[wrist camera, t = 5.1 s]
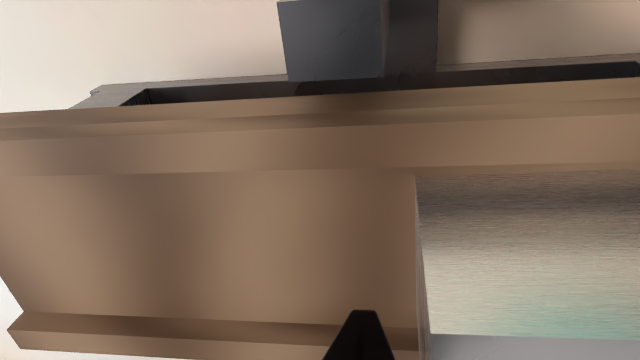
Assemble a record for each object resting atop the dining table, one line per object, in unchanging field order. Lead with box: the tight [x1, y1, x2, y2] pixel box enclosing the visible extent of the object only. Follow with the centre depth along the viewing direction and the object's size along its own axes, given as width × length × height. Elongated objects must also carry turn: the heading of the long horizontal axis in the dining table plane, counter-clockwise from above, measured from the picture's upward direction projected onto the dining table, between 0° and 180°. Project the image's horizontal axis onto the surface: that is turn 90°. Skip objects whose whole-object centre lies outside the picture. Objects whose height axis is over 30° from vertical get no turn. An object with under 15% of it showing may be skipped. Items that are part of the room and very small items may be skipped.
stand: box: [69, 0, 640, 109], centre depth 14 cm, size 22×13×7 cm, turn 96°
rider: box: [415, 169, 640, 360], centre depth 9 cm, size 6×5×4 cm
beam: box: [0, 77, 640, 360], centre depth 11 cm, size 24×8×2 cm, turn 96°
